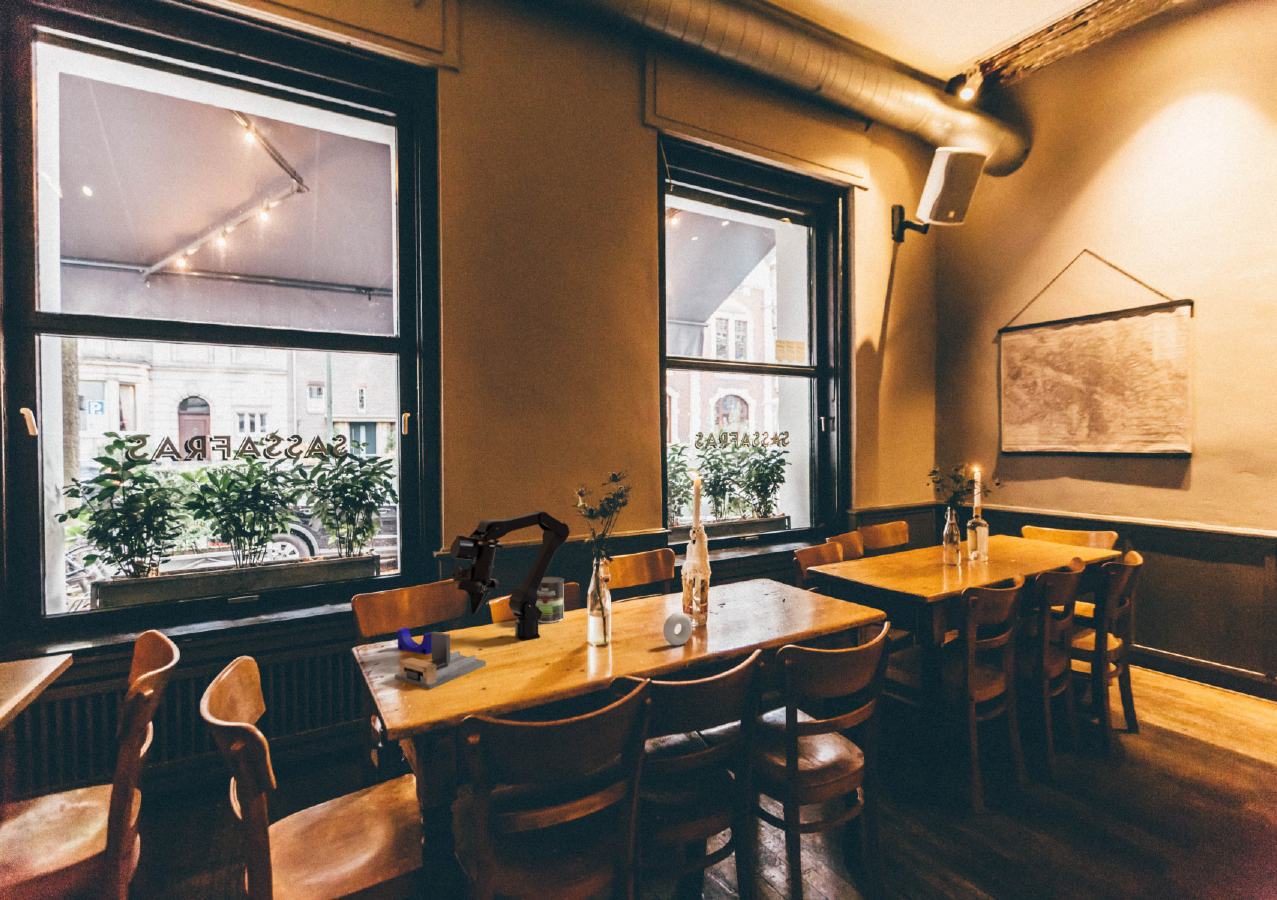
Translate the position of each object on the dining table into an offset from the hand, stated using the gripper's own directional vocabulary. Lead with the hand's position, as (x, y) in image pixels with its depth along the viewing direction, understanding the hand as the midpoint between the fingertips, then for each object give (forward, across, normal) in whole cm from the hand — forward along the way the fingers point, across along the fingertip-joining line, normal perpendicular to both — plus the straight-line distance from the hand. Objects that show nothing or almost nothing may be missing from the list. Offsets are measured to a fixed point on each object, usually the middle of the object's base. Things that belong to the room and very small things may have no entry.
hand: (473, 613), depth 179 cm
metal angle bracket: (+14, +19, -3) cm, 24 cm away
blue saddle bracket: (+14, -2, -16) cm, 21 cm away
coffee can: (+3, -35, +15) cm, 39 cm away
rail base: (+14, +15, -1) cm, 21 cm away
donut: (0, -11, +62) cm, 63 cm away
